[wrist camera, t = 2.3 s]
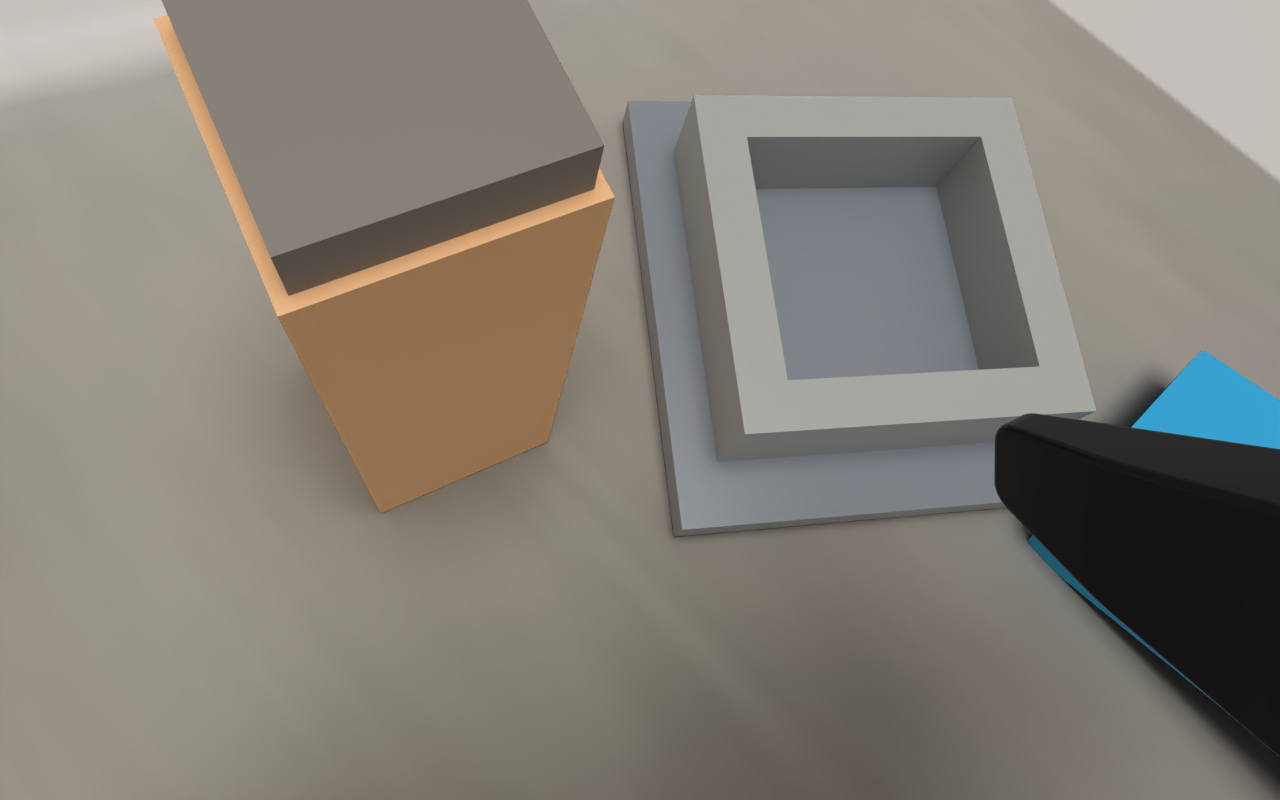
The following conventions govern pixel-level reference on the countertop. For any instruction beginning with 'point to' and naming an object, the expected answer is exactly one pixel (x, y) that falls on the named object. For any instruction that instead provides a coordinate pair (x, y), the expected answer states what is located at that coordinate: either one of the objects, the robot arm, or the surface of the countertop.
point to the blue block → (1200, 428)
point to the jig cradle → (843, 303)
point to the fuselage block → (406, 213)
